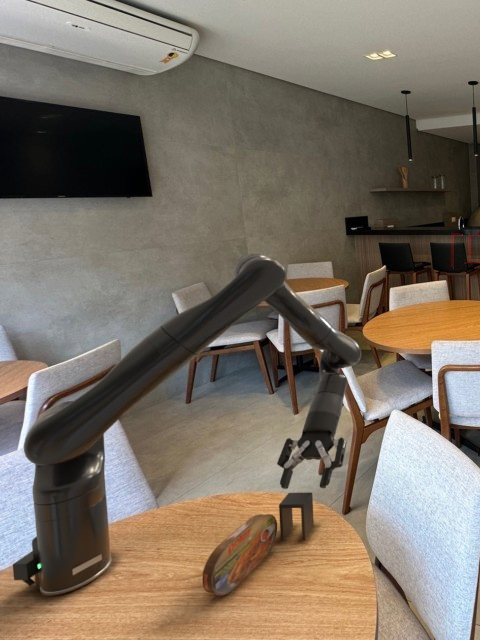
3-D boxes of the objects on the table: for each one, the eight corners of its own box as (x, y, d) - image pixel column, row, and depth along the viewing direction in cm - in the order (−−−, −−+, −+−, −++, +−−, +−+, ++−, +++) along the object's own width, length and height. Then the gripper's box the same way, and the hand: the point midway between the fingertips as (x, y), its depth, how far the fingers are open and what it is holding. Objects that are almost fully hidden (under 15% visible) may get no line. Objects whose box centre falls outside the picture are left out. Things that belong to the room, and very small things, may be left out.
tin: (214, 608, 72) (212, 562, 71) (199, 605, 72) (197, 559, 72) (279, 543, 86) (277, 505, 86) (266, 541, 87) (265, 503, 87)
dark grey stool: (280, 540, 87) (278, 504, 87) (290, 527, 91) (288, 492, 91) (305, 540, 87) (303, 504, 87) (313, 526, 91) (312, 492, 91)
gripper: (289, 409, 100) (263, 484, 89) (348, 409, 100) (329, 483, 89) (301, 420, 105) (278, 492, 95) (356, 420, 106) (340, 491, 95)
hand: (303, 487), depth 92 cm, fingers open, 8 cm apart
